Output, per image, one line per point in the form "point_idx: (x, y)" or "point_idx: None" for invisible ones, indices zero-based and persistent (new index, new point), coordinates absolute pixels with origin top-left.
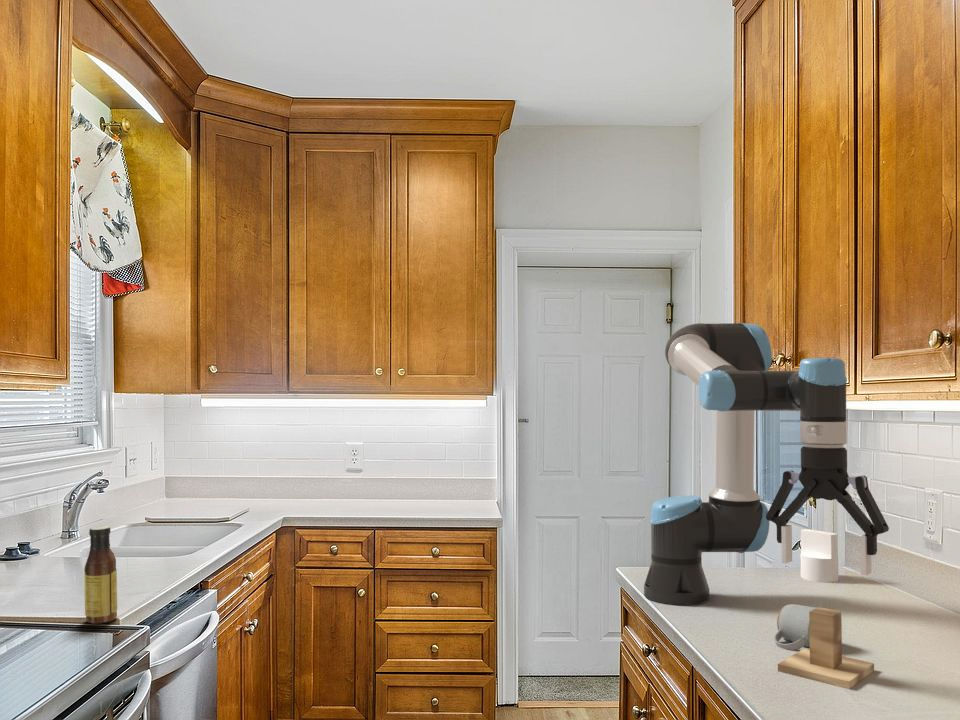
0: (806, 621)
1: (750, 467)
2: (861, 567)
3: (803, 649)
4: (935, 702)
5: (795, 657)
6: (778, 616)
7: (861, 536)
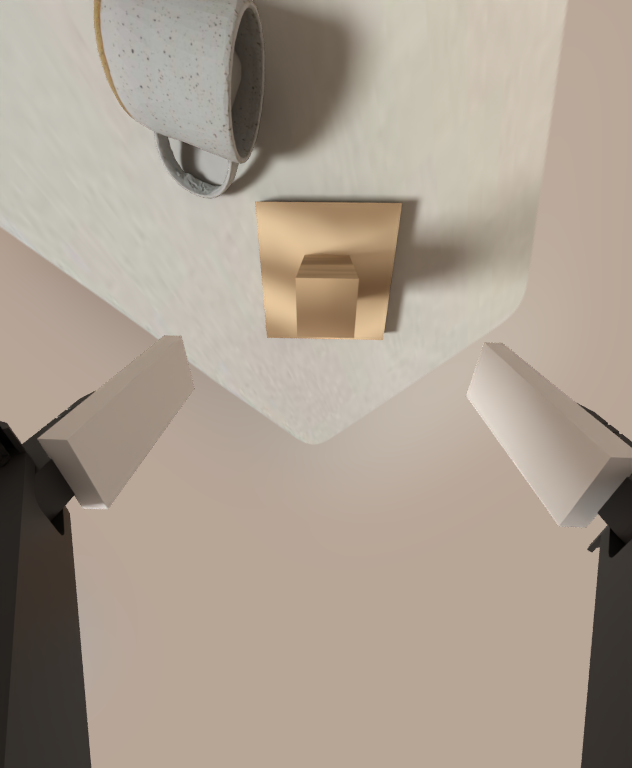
0: (222, 145)
1: None
2: (479, 412)
3: (258, 218)
4: (503, 286)
5: (271, 284)
6: (124, 108)
7: (561, 522)
